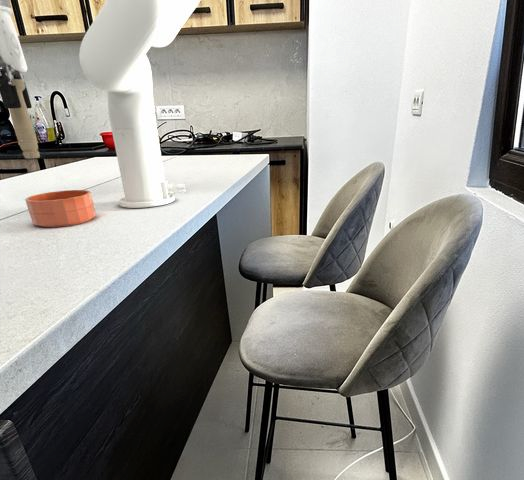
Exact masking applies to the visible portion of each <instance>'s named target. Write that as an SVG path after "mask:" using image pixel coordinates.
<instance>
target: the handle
mask: <svg viewBox="0 0 524 480" xmlns="http://www.w3.org/2000/svg"><path fill="white" fill-rule="evenodd" d="M12 80H13V85H15V86H16V89H17V93H18V96H19V100H20V103H21V108H11V109H8V110H9V114H10V118H11V122H12V126H13V130H14V133H15V137H16V139H17V143H18V145H19V147H20V149H21V151H22V156H23V158H24V159H27V160H32V159H40V157H41V156H40V155H41V154H40V151H39V145H38V139H37V135H36V132H35V129H34V124H33V123H32V119H31V117H30V113H29V110H28V109H27V107H26V104H25V101H24V98H23V94H22V91H23V90H24V89H25V85H24V82H23V80H21V79H12ZM13 85H11V86H13Z"/></svg>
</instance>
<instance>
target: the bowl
mask: <svg viewBox="0 0 524 480" xmlns="http://www.w3.org/2000/svg"><path fill="white" fill-rule="evenodd" d="M24 201H25V204H26V207H27V210H28V213H29V216H30V220H31V223H32V225H35V226H38V227H41V228H61V227H69V226H75V225H76V226H77V225H79V224H84V223H86V222H89V221H91V220H92V219H94V218H95V217H96V216H97V212H96V208H95V204H94V200H93V195H92V192H91V191H90V190H85V189H70V190H59V191H56V190H55V191H49V192H43V193H38V194H34V195H30V196H27V197H26V198H25V199H24Z"/></svg>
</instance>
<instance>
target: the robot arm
mask: <svg viewBox="0 0 524 480" xmlns="http://www.w3.org/2000/svg"><path fill="white" fill-rule="evenodd" d="M200 1H201V0H105V3H104V4H103V5H102V7H101V9H100V10H99V11H98V14H97V15H96V17H95V18H94V20H93V21H92V23H91V25H90V26H89V28H88V29H87V30H86V33H85V35H84V36H83V38H82V40H81V43H80V46H79V51H78V52H79V56H78V59H79V65H80V68H81V70H82V73H83V75H84V76H85V78H86V80H87V81H88V82H89V83H90V84H92V85H93V86H94V87H96V88H97V89H100V90H102V91H106V92H107V107H108V108H107V109H108V117H109V124H110V127H111V134H112V138H113V143H114V148H115V154H116V158H117V163H118V169H119V174H120V178H121V182H122V183H121V184H122V189H123V193H124V197H121V198H120V199H119V200H118V204H119V206H120V207H121V208H129V209H141V208H152V207H159V206H163V205H167V204H171V203H173V202H175V194H174V193H187V188H186V183H185V182H184V183H183V182H182V183H181V182H180V183H173V184H172V183H171V182H168V179H167V178H165V171H164V166H163V165H164V164H163V158H162V151H161V146H160V140H159V132H158V123H157V119H156V118H157V117H156V111H155V101H154V90H153V89H154V87H153V73H152V72H153V71H152V68H151V67H152V66H151V63H150V61H149V60H150V59H149V58H148V56H147V53H148V52H149V50H150V48H151V47H153V48H165V47H168V46H169V45H170V44H171V43H172V42H173V41H174V40H175V38H176V37H177V35H178V33H179V32H180V30H181V29H182V27H183V26H184V25H185V24H186V22H187V21H188V19H189V18H190V17H191V15H192V14H193V13H194V11H195V10H196V8H197V7H198V6H199V3H200ZM11 15H13V9H12V5H11V2H10V0H0V97H1V101H2V104H3V107H4V109H7V110H9V109H11V108H21V103H20V100H19V96H18V93H17V89H16V86H15V85H13V80H12V79H21V80H23V82H24V85H25V89H24V90H23V91H22V94H23V98H24V101H25V104H26V107H27V110H28V109H32V107H33V106H32V102H31V97H30V95H29V91H28V88H27V83H26V81H25V76H24V74H23V73H27V71H28V65H27V61H26V58H25V55H24V52H23V48H22V45H21V42H20V39H19V35H18V32H17V30H16V27H15V24H14V21H13V19H12V16H11ZM11 85H13V86H11Z"/></svg>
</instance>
